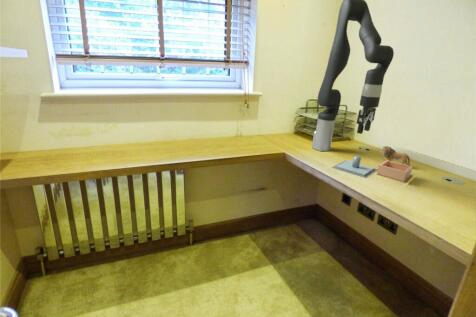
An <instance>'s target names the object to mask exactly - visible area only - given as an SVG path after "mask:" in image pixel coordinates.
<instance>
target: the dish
mask: <svg viewBox="0 0 476 317" xmlns="http://www.w3.org/2000/svg"><path fill="white" fill-rule="evenodd" d="M413 167H414V166H412V165H411V166H409V164H408V165H406V164H405V163H404V164H402V162H401V163H400V162H398V161H397V162H396V161H392V160H391V161H389V160H388V159H386V160H384V161H382V163H380V164H379V165H378V166H377V169H378V170H377V171H376V176H377V175H378V176H380V177H384V178H388V179H391V180H395V181H397V182H402V183H404V182H406V181H407V180H408V179H409V178H410V177H411V175H412V172H413Z"/></svg>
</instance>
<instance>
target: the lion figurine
mask: <svg viewBox="0 0 476 317" xmlns="http://www.w3.org/2000/svg"><path fill="white" fill-rule="evenodd" d="M381 154H382V155H383V156H384V158H386V159H387V160H389V161H392V160H395V161H396V160H397V161H398V160H399V161H400V160H401V161H402V162H401V164H405V165H409V166H412V165H411V164H410V160H411V159H410V156H409V155H408V154H407V153H404V152H397V151H396V150H395V149H394V148H392V147H391V146H388V145H384V146H382V149H381Z"/></svg>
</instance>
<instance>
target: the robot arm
mask: <svg viewBox="0 0 476 317" xmlns="http://www.w3.org/2000/svg"><path fill="white" fill-rule="evenodd" d="M349 21H351V22H358V24H359V26H360V27H359V30H358V38H359V40H360V42H361V44H362V46H363V52H364V58H365V60H366V62H368V63H370V64H377V65H376V66H375V68H371V69H368V70H367V71H366V74H365V77H364V78H365V79H364V83H363V87H362V90H361V96H360V99H359V100H360V101H359V105H360V106H361V107H362V109H359V110H358V114H357V118H356V124H357V125H358V126H357V130H356V133H357V134H360V135H361V134H363V132H364V131H365V132H366V131H367V132H369V131H370V130H371V125H372V123H373V122H374V119H375V117H376V116H375V115H376V110H377V108H378V107H379V105H380V99H381V96H382V91H383V90H382V89H383V83H384V79H385V75H386V73H387V72H388V69H389V66H390V65H391V63H392V62H393V58H394V55H395V54H394V53H395V52H394V49H393V47H392V46H390V45H385V44H384V45H383V44H382V37H381V34H380V33H379V32H378V30H377V28H376V26H375V25H374V22H373V19H372V15H371V13H370V9H369V6H368V3H367V2H366V0H342V2H341V4H340V7H339V11H338V16H337V23H336V28H335V33H334V38H333V42H332V46H331V49H330V53H329V56H328V61H327V66H326V69H325V72H324V77H323V80H322V82H321V85H320V88H319V90H318V95H317V103H318V106H320V107H323V108H324V107H325V108H324V110H322V111H320V112H319V113H318V115H317V122H316V129H315V131H314V132H313V138H312V144H311V145H312V146H311V148H312V149H314V150H315V151H319V152H329V151H330V150H331V147H332V140H333V135H334V130H335V129H334V128H335V123H336V119H337V117H338V114H339V110H340V106H341V101H342V95H341V92H340V90H339V89H335V88H334V89H333V87H334V84H335V82H336V79H337V78H338V77H339V76H340V75H341V73H343V71H344V69H346V67H347V66H348V61H349V58H350V54H351V46H350V42H349V37H348V32H347V31H348V24H349Z"/></svg>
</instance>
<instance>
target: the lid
mask: <svg viewBox="0 0 476 317" xmlns="http://www.w3.org/2000/svg"><path fill="white" fill-rule="evenodd" d="M361 159H362V157H361V156H359V155H354V156H353V160H346V161H345V160H344V161H345V162H343V161H342V162H343V163H341V162H340V163H341V164H339V163H338V164H339V165H337V164H336V165H337V166H336V168H338V169H342V170H345V171H348V172H352V173H355V174H358V175H362V176H365V175H367V174H368V173H370V172H371V171H373V170H374V169H376V168H375V167H373V166H369V165H365V164H363V163H361V161H362V160H361ZM338 169H337V170H338Z"/></svg>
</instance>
